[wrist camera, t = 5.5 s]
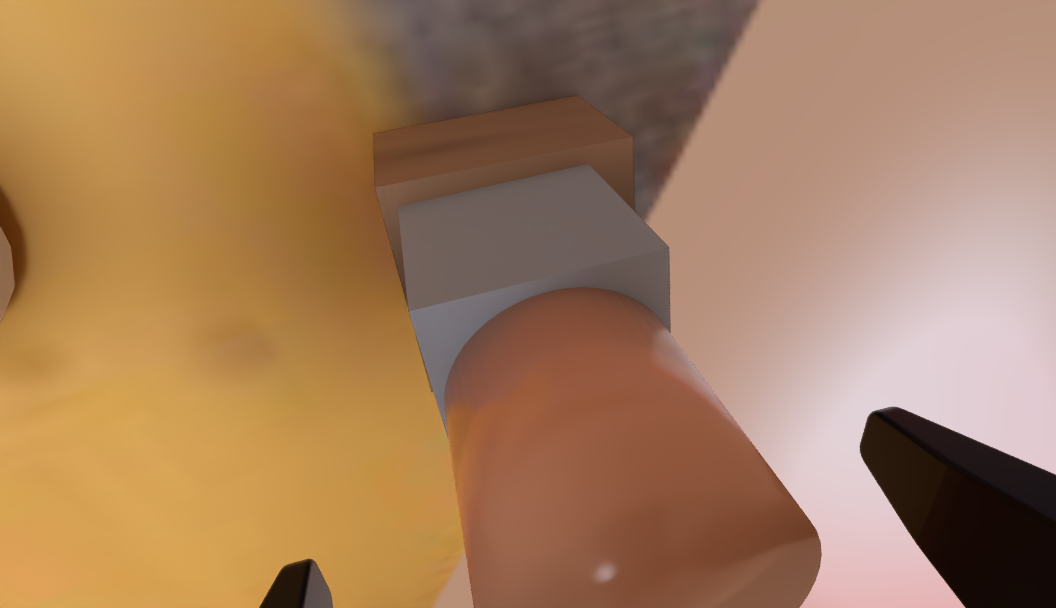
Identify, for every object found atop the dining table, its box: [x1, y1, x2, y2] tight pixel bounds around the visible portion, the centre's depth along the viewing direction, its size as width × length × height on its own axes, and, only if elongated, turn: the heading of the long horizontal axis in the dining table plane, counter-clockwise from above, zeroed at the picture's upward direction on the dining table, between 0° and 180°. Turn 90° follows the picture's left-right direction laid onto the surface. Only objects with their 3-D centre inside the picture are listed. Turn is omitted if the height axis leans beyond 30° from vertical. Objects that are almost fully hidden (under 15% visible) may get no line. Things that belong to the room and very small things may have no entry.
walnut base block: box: [373, 95, 635, 392], centre depth 17 cm, size 6×6×4 cm
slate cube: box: [398, 164, 670, 439], centre depth 13 cm, size 4×4×4 cm
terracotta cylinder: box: [444, 287, 822, 608], centre depth 9 cm, size 4×4×4 cm
